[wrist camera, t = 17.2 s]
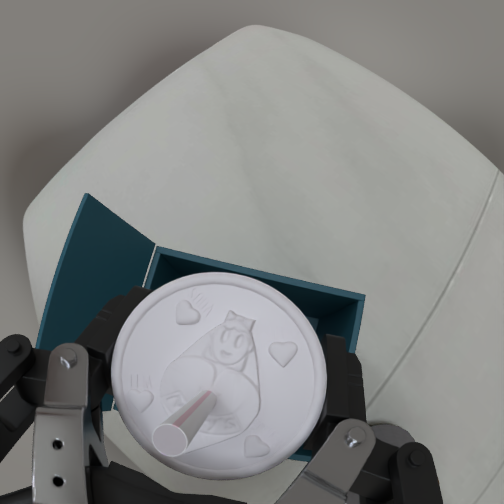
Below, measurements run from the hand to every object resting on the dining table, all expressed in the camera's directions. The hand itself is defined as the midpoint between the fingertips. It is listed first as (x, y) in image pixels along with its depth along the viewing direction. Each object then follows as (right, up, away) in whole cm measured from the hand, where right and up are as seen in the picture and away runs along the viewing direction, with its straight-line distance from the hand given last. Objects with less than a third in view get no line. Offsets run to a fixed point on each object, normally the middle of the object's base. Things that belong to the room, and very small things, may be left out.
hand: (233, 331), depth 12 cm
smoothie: (0, -4, +6) cm, 7 cm away
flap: (-9, -1, +6) cm, 11 cm away
